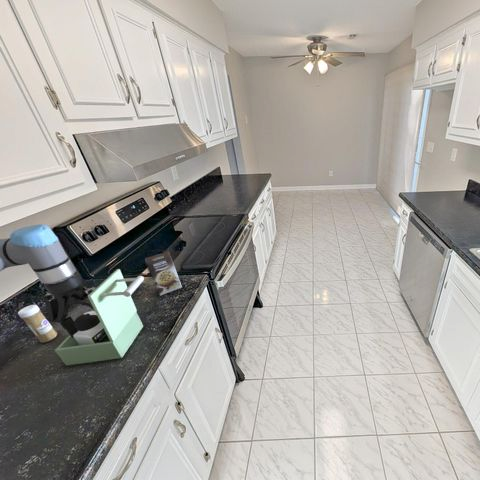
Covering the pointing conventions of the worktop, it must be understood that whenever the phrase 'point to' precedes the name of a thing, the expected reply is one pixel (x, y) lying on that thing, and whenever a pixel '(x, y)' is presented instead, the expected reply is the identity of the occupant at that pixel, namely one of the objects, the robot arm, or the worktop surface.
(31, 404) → the worktop surface
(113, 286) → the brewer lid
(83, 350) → the green storage bin
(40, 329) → the sprinkles bottle
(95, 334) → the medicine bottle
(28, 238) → the robot arm
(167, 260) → the coffee box
